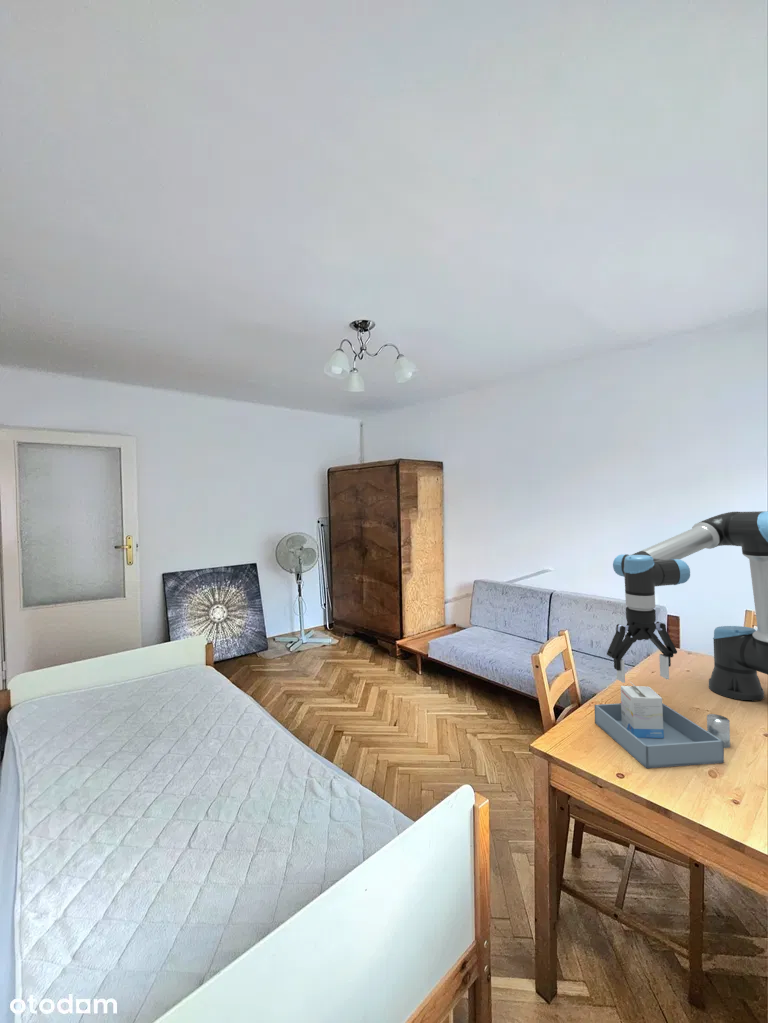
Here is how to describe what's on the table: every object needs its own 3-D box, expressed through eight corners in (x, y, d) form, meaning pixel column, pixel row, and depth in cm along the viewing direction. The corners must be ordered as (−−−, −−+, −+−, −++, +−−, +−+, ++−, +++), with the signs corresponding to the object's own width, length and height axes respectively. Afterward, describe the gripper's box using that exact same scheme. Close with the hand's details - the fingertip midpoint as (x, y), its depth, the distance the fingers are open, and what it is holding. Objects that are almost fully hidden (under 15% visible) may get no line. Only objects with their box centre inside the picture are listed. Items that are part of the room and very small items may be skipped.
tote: (659, 718, 133) (659, 700, 133) (723, 762, 110) (723, 741, 110) (594, 722, 131) (594, 704, 131) (646, 768, 108) (645, 746, 108)
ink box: (664, 739, 120) (663, 692, 120) (633, 737, 121) (632, 691, 121) (650, 723, 129) (649, 680, 129) (620, 722, 130) (619, 679, 130)
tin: (719, 737, 122) (718, 713, 122) (734, 747, 117) (734, 722, 117) (702, 738, 121) (702, 714, 121) (717, 748, 116) (717, 723, 116)
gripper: (670, 602, 130) (673, 671, 130) (592, 607, 128) (595, 677, 128) (690, 608, 122) (692, 681, 122) (607, 613, 120) (610, 687, 121)
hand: (642, 679), depth 125 cm, fingers open, 13 cm apart
